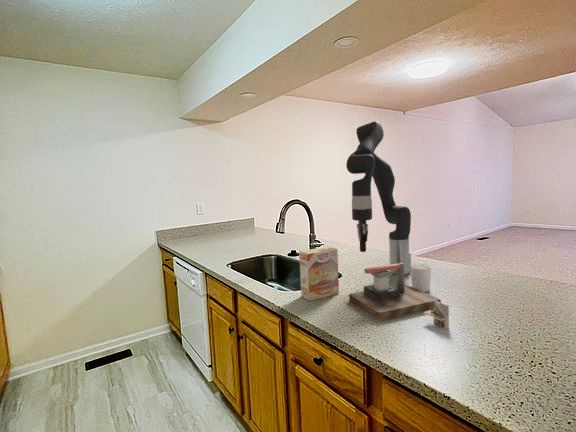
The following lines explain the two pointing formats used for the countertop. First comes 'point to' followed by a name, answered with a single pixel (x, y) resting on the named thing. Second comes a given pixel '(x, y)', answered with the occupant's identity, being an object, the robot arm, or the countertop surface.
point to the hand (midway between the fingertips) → (362, 251)
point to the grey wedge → (440, 314)
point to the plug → (381, 280)
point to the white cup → (421, 277)
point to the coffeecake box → (319, 273)
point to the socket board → (392, 301)
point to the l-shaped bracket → (390, 267)
